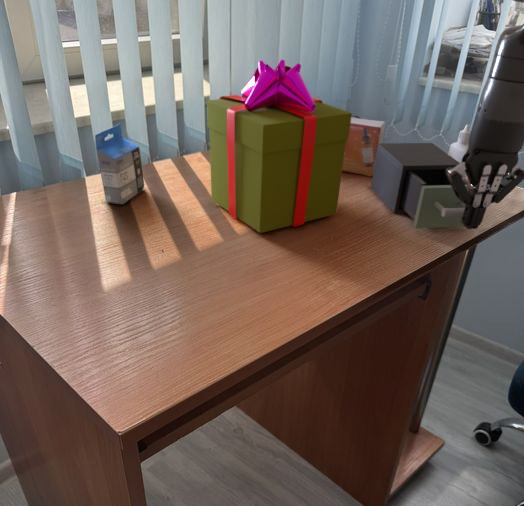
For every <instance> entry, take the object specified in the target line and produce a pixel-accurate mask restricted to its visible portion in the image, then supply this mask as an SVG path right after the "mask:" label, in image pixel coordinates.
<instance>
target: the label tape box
mask: <svg viewBox="0 0 524 506" xmlns="http://www.w3.org/2000/svg"><path fill="white" fill-rule="evenodd" d="M109 135H110V136H111V135H112V137H110V138H108V139H106V138H107V137H108V136H109ZM122 135H123V133H122V123H117V124H116V125H114V126H111V127H109V128H106V129H105V130H102V131H100V132H98V133H96V134H95V135H94V141H95V149H96V155H97V161H98V166H99V171H100V178H101V182H102V188H103V194H104V199H105V202H106V203H111V204H113V205H114V204H116V205H124V204H126V203H127V202H128V201H130V200H131V199H132V198H134V197H135V196H136V195H138V194H140V193H141V192H142V191H143V190H145V189H146V187H145V181H144V180H145V179H144V173H143V172H144V171H143V166H142V157H141V150H140V147H139V146H138V145H137V144H135V143H133V142H132V141H130V140H128V139H126V138H125V137H123V136H122Z"/></svg>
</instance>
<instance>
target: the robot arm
mask: <svg viewBox="0 0 524 506" xmlns="http://www.w3.org/2000/svg"><path fill="white" fill-rule="evenodd" d="M512 1H513V2H516V3H521V4H524V0H512ZM470 131H471V134H470V137H469V144H468V150H467V152H466V153H465V155H464V156H463V158H462V162H461V163H460V164H458V165H457V166H456V167H454V168H451V167H448V168H447V169H446V170H445V174H446V176H447V178H448V180H449V182H450V184H451V186H452V188H453V191H454V193H455V195H456V197H457V198H458V199H459V200H461V201H462V202H463V203H464V204H466V205H465V209H464V212H463V216H462V223H463V225H464V226H465V229H467V230H475V229H476V230H477V229H478V228H479V226H481V224H482V222H483V219H484V216H485V213H486V210H487V208H488V207H489V206H491V204H499V203H500V202H501V201H503V200H504V199H505V198H506V197H507V196H508V195H509V194H510V193H511V192H512V191H513V190H514V189H515V188H516V187H518V185H519V184H521V182H523V181H524V169H523V168H522V167H520V165H519V164H518V163H519V160H520V159H519V152H520V151H522V149H523V147H524V23H522V24H519V25H513V26H509V27H507V28H505V29H504V30H502V32H501V33H500V35H499V37H498V39H497V43H496V46H495V49H494V54H493V57H492V61H491V65H490V68H489V72H488V75H487V77H486V81H485V83H484V86H483V87H482V90H481V94H480V97H479V100H478V104H477V108H476V112H475V116H474V120H473V123H472V126H471V130H470ZM464 172H466V175H467V176H466V178H467V181H468V182H467V187H468V190H467V189H466V187H465V185H464V182H463V180H464V179H465V174H464Z"/></svg>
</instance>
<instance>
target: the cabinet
mask: <svg viewBox="0 0 524 506" xmlns="http://www.w3.org/2000/svg"><path fill="white" fill-rule="evenodd" d="M458 164H460V163H459V162H458V161H457V160H455V159H454V158H452V157H451V156H450V155H448V153H447V152H445V151H444V150H443V149H441V148H440V147H438V146H437V145H436V144H434V143H433V142H400V143H399V142H396V143H395V142H393V143H391V142H390V143H385V142H384V143H383V142H382V144H378V149H377V155H376V161H375V166H374V172H373V176H372V179H371V184H370V189H371V190H372V191H373V192H374V193H375V194H376V196H377V197H378V198H379V199H380V200H381V201H382V202H383V203H384V204H385V206H386V207H387V208H388V209H389V210H390V211H391V212H392V214H395V215H396V214H407V213H406V212H405V210H404V209H403V208H402V207H401V206H400V205H399V204H400V199H401V194H402V190H403V185H404V180H405V175H406V170H437V169H447V168H448V167H451V168H454V167H456V166H457V165H458Z"/></svg>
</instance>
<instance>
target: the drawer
mask: <svg viewBox="0 0 524 506" xmlns="http://www.w3.org/2000/svg"><path fill="white" fill-rule="evenodd" d="M445 170H446V169H437V170H406V175H405V180H404V185H403V190H402V194H401V199H400V204H399V205H400V206H401V207H402V208H403V209H404V210H405V212H406V213H405V214H407V215H408V216H409V217H410V218H411V219H412V220H413V224H412V226H413V227H414V228H415V229H437V228H439V229H440V228H463V227H465V226H464V225H463V223H462V216H463V212H464V209H465V205H466V204H464V203H463V202H462V201H461V200H459V199H458V198H457V197H456V195H455V193H454V191H453V188H452V186H451V184H450V182H449V180H448V178H447V176H446V174H445ZM463 182H464V185H465V187H466V189H467V190H468V187H467V182H468V179H467V178H466V179H464V180H463ZM465 228H466V227H465Z"/></svg>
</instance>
